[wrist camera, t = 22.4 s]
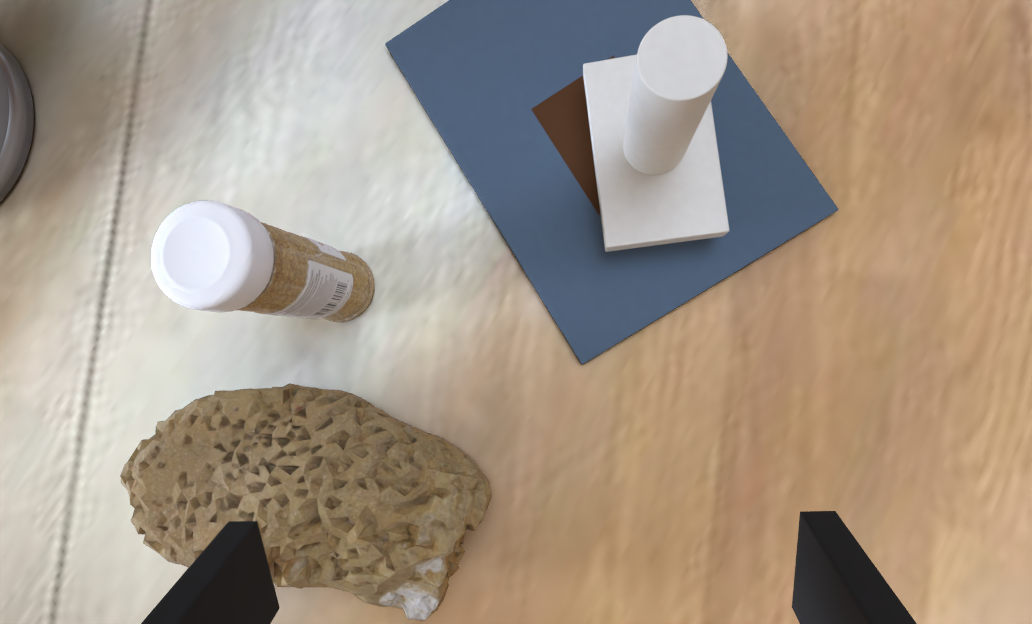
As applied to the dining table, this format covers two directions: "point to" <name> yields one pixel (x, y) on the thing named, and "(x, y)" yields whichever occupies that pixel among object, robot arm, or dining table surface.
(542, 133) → the mat
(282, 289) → the sprinkles bottle
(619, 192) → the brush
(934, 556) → the dining table surface
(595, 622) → the dining table surface
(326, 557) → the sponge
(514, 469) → the dining table surface
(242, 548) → the robot arm
